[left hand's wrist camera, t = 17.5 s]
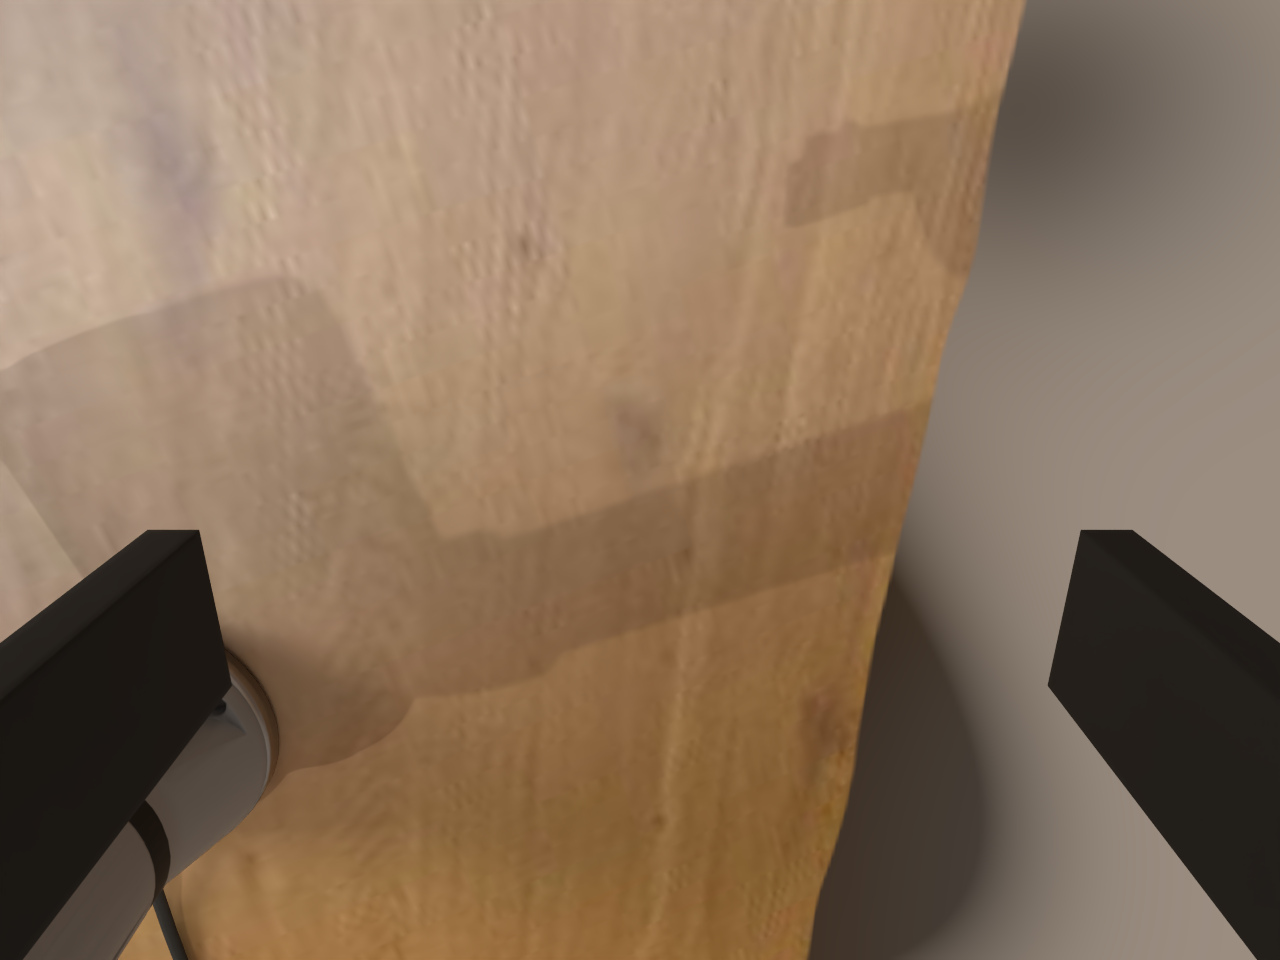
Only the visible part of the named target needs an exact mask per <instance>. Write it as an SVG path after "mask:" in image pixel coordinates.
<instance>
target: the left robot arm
mask: <svg viewBox="0 0 1280 960" xmlns="http://www.w3.org/2000/svg"><path fill="white" fill-rule="evenodd" d="M1048 687H1049V688H1050V689H1051V691H1052V692H1053V693H1054V694H1055V696H1056V697H1057V698H1058V700H1059V701H1060V702H1061V704H1062V705H1063V706H1064V708H1065V709H1066V710H1067V711H1068V713H1069V714H1070V715H1071V717H1072V718H1073V719H1074V721H1075V722H1076V723H1077V724H1078V726H1079V727H1080V729H1081V730H1082V731H1083V732H1084V734H1085V735H1086V736H1087V738H1088V739H1089V740H1090V742H1091V743H1092V744H1093V746H1094V747H1095V748H1096V749H1097V751H1098V752H1099V753H1100V755H1101V756H1102V757H1103V759H1104V760H1105V761H1106V762H1107V764H1108V765H1109V766H1110V768H1111V769H1112V770H1113V772H1114V773H1115V774H1116V776H1117V777H1118V778H1119V780H1120V781H1121V782H1122V783H1123V785H1124V786H1125V787H1126V789H1127V790H1128V791H1129V793H1130V794H1131V795H1132V797H1133V798H1134V799H1135V800H1136V802H1137V803H1138V804H1139V806H1140V807H1141V808H1142V810H1143V811H1144V812H1145V814H1146V815H1147V816H1148V818H1149V819H1150V820H1151V821H1152V823H1153V824H1154V825H1155V827H1156V828H1157V829H1158V831H1159V832H1160V833H1161V835H1162V836H1163V837H1164V838H1165V840H1166V841H1167V842H1168V844H1169V845H1170V846H1171V848H1172V849H1173V850H1174V852H1175V853H1176V854H1177V856H1178V857H1179V858H1180V859H1181V861H1182V862H1183V863H1184V865H1185V866H1186V867H1187V869H1188V870H1189V871H1190V873H1191V874H1192V875H1193V876H1194V878H1195V879H1196V880H1197V882H1198V883H1199V884H1200V886H1201V887H1202V888H1203V890H1204V891H1205V892H1206V893H1207V895H1208V896H1209V897H1210V899H1211V900H1212V901H1213V903H1214V904H1215V905H1216V907H1217V908H1218V909H1219V911H1220V912H1221V913H1222V914H1223V916H1224V917H1225V918H1226V920H1227V921H1228V922H1229V923H1230V925H1231V926H1232V927H1233V929H1234V930H1235V931H1236V933H1237V934H1238V935H1239V937H1240V938H1241V939H1242V941H1243V942H1244V943H1245V945H1246V946H1247V947H1248V948H1249V950H1250V951H1251V952H1252V954H1253V955H1254V956H1255V958H1256V959H1257V960H1280V643H1279V642H1278V641H1276V640H1275V639H1274V638H1272V637H1271V636H1270V635H1268V634H1267V633H1266V632H1265V631H1263V630H1262V629H1261V628H1259V627H1258V626H1257V625H1255V624H1254V623H1253V622H1251V621H1250V620H1249V619H1248V618H1246V617H1245V616H1244V615H1242V614H1241V613H1240V612H1239V611H1237V610H1236V609H1235V608H1233V607H1232V606H1231V605H1229V604H1228V603H1227V602H1225V601H1224V600H1223V599H1222V598H1220V597H1219V596H1218V595H1216V594H1215V593H1214V592H1212V591H1211V590H1210V589H1209V588H1207V587H1206V586H1205V585H1203V584H1202V583H1201V582H1199V581H1198V580H1197V579H1196V578H1194V577H1193V576H1192V575H1190V574H1189V573H1188V572H1186V571H1185V570H1184V569H1182V568H1181V567H1180V566H1179V565H1177V564H1176V563H1175V562H1173V561H1172V560H1171V559H1170V558H1168V557H1167V556H1166V555H1164V554H1163V553H1162V552H1160V551H1159V550H1158V549H1157V548H1155V547H1154V546H1153V545H1151V544H1150V543H1149V542H1147V541H1146V540H1145V539H1143V538H1142V537H1141V536H1139V535H1138V534H1137V533H1136V532H1134V531H1133V530H1081V532H1080V537H1079V541H1078V546H1077V551H1076V555H1075V560H1074V565H1073V569H1072V574H1071V579H1070V583H1069V588H1068V593H1067V597H1066V602H1065V607H1064V612H1063V616H1062V621H1061V626H1060V630H1059V635H1058V640H1057V644H1056V649H1055V654H1054V659H1053V663H1052V668H1051V673H1050V677H1049V682H1048ZM278 752H279V735H278V729H277V723H276V720H275V716H274V713H273V710H272V708H271V706H270V703H269V701H268V699H267V697H266V695H265V694H264V692H263V690H262V689H261V687H260V686H259V684H258V683H257V681H256V680H255V679H254V677H253V676H252V675H251V674H250V673H249V671H248V670H247V669H246V668H245V667H244V666H243V665H242V664H241V663H240V662H239V661H238V660H237V659H236V658H235V657H233V656H232V655H231V654H230V653H229V652H228V651H226V650H225V649H224V644H223V640H222V635H221V630H220V626H219V621H218V616H217V612H216V607H215V602H214V597H213V593H212V588H211V583H210V579H209V574H208V569H207V565H206V560H205V555H204V551H203V546H202V541H201V537H200V532H199V530H147V531H146V532H144V533H143V534H142V535H140V536H139V537H138V538H137V539H135V540H134V541H133V542H131V543H130V544H129V545H127V546H126V547H125V548H123V549H122V550H121V551H120V552H118V553H117V554H116V555H114V556H113V557H112V558H110V559H109V560H108V561H107V562H105V563H104V564H103V565H101V566H100V567H99V568H97V569H96V570H95V571H94V572H92V573H91V574H90V575H88V576H87V577H86V578H84V579H83V580H82V581H81V582H79V583H78V584H77V585H75V586H74V587H73V588H71V589H70V590H69V591H68V592H66V593H65V594H64V595H62V596H61V597H60V598H58V599H57V600H56V601H55V602H53V603H52V604H51V605H49V606H48V607H47V608H45V609H44V610H43V611H41V612H40V613H39V614H38V615H36V616H35V617H34V618H32V619H31V620H30V621H28V622H27V623H26V624H25V625H23V626H22V627H21V628H19V629H18V630H17V631H15V632H14V633H13V634H12V635H10V636H9V637H8V638H6V639H5V640H4V641H2V642H1V643H0V960H117V959H118V958H119V956H120V955H121V953H122V952H123V950H124V949H125V947H126V945H127V944H128V942H129V941H130V939H131V938H132V936H133V934H134V933H135V931H136V930H137V928H138V927H139V925H140V924H141V922H142V920H143V919H144V917H145V916H146V914H147V912H148V911H149V909H150V907H151V906H152V904H153V906H154V909H155V912H156V915H157V918H158V921H159V923H160V926H161V929H162V932H163V935H164V937H165V940H166V943H167V945H168V948H169V950H170V953H171V955H172V958H173V960H188V958H187V955H186V953H185V950H184V947H183V945H182V942H181V939H180V937H179V934H178V931H177V929H176V926H175V923H174V920H173V917H172V914H171V911H170V908H169V905H168V902H167V899H166V896H165V893H164V890H163V888H164V886H165V885H166V884H167V883H168V882H169V881H171V880H172V879H173V878H174V877H176V876H177V875H178V874H179V873H180V872H182V871H183V870H184V869H185V868H187V867H188V866H189V865H190V864H192V863H193V862H194V861H195V860H196V859H198V858H199V857H200V856H201V855H203V854H204V853H205V852H206V851H207V850H209V849H210V848H211V847H212V846H213V845H215V844H216V843H217V842H218V841H219V840H221V839H222V838H223V837H224V836H226V835H227V834H228V833H230V832H231V831H232V830H233V829H234V828H235V827H237V826H238V825H239V823H240V822H241V821H242V820H243V819H244V818H245V817H246V816H247V815H248V814H249V813H250V812H251V810H252V809H253V808H254V806H255V805H256V803H257V802H258V800H259V799H260V797H261V795H262V794H263V792H264V790H265V788H266V787H267V785H268V783H269V781H270V779H271V777H272V775H273V773H274V770H275V767H276V764H277V759H278Z"/></svg>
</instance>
